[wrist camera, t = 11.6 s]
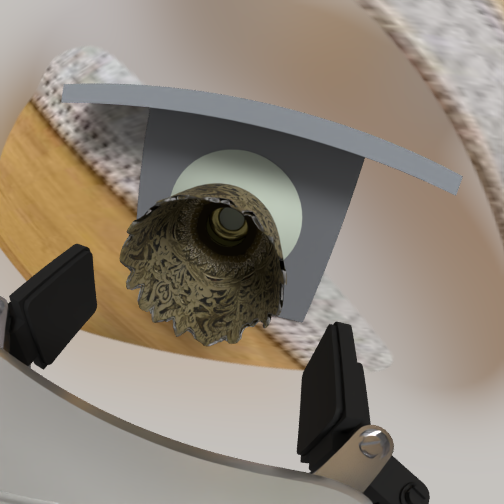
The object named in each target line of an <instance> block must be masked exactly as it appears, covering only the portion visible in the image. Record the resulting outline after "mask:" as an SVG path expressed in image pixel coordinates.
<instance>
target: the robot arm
mask: <svg viewBox="0 0 504 504" xmlns="http://www.w3.org/2000/svg"><path fill="white" fill-rule="evenodd" d="M9 297H10V301H11V302H9V303H7V301H6V299H4V298H3V297H1V296H0V504H429V499H430V496H429V491H428V489H427V487H426V486H425V484H424V483H422V482H421V481H420V480H419V479H418V478H417V477H416V476H414V475H413V474H412V473H411V472H410V471H409V470H408V469H407V468H405V467H404V466H403V465H402V464H401V463H400V462H399V461H398V460H396V459H395V458H394V457H393V456H392V453H393V449H394V444H393V440H392V438H391V436H390V435H389V433H388V432H387V431H386V430H384V429H383V428H381V427H379V426H376V425H371V424H370V415H369V407H368V399H367V392H366V384H365V377H364V371H363V366H362V364H361V363H357V357H356V351H355V344H354V338H353V332H352V327H351V325H349V324H345V323H341V322H335V323H334V324H333V325H332V324H329V325H328V327H327V329H326V331H325V333H324V335H323V337H322V339H321V340H320V342H319V344H318V346H317V348H316V350H315V352H314V354H313V355H312V357H311V359H310V361H309V363H308V364H307V366H306V368H305V370H304V372H303V375H302V385H301V403H300V418H299V431H298V443H297V454H298V455H301V462H302V463H309V470H310V471H311V472H310V473H306V472H300V471H295V470H290V469H285V468H280V467H274V466H269V465H264V464H259V463H254V462H250V461H246V460H241V459H237V458H233V457H229V456H225V455H221V454H217V453H214V452H210V451H207V450H203V449H200V448H197V447H193V446H190V445H187V444H184V443H181V442H178V441H175V440H172V439H170V438H167V437H164V436H161V435H159V434H156V433H153V432H151V431H148V430H146V429H143V428H141V427H138V426H136V425H134V424H131V423H129V422H126V421H124V420H122V419H120V418H118V417H116V416H114V415H111V414H109V413H107V412H105V411H103V410H101V409H99V408H97V407H95V406H93V405H91V404H89V403H87V402H86V401H83V400H82V399H80V398H78V397H76V396H75V395H73V394H71V393H69V392H67V391H66V390H64V389H62V388H61V387H59V386H57V385H56V384H54V383H52V382H51V381H49V380H47V379H46V378H44V377H43V376H41V375H40V374H38V373H36V372H35V371H33V370H32V369H31V363H32V362H34V363H35V364H36V365H37V366H39V367H40V368H42V369H45V367H46V366H47V365H50V364H52V363H53V361H54V360H55V359H56V358H57V356H58V355H59V354H60V353H61V351H62V350H63V349H64V348H65V347H66V345H67V344H68V343H69V342H70V340H71V339H72V338H73V337H74V336H75V334H76V333H77V332H78V331H79V330H80V329H81V328H82V326H83V325H84V324H85V323H86V322H87V321H88V319H89V318H90V317H91V316H92V315H93V314H94V313H95V311H96V308H97V300H96V291H95V281H94V270H93V256H92V253H91V252H90V249H89V248H88V247H85V246H82V245H80V244H75V245H73V246H72V247H70V248H69V249H68V250H66V251H65V252H64V253H62V254H61V255H60V256H58V257H57V258H56V259H54V260H53V261H52V262H50V263H49V264H48V265H47V266H45V267H44V268H43V269H41V270H40V271H39V272H38V273H36V274H35V275H34V276H33V277H31V278H30V279H29V280H28V281H27V282H25V283H24V284H23V285H22V286H21V287H19V288H18V289H17V290H16V291H15V292H14V293H12V294H11V295H10V296H9Z"/></svg>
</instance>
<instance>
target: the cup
mask: <svg viewBox="0 0 504 504" xmlns="http://www.w3.org/2000/svg"><path fill="white" fill-rule="evenodd" d="M224 208H232V209H235V210H237V211H238V212H240V213H241V214H242V215H243V217H244V223H243V225H242V226H241V227H240V228H239V229H236V230H229V229H227V228H225V227H224V226H223V225H222V224H221V222H220V213H221V211H222V210H223V209H224ZM127 233H128V234H130V235H129V237H128V238H127V240H126V241H125V243H124V245H123V247H122V250H121V254H120V262H121V263H122V264H123V265H124V266H125V267H127V268H129V270H130V271H131V273H130V275H129V276H128V279H127V281H126V287H127V289H131V290H133V289H136V288H141V289H140V292H139V296H138V304H139V307H140V309H142V310H144V311H146V312H148V311H149V312H150V313H151V314H152V322H154V323H156V322H163V321H166V322H168V321H170V320H171V319H173V328H174V332H175V335H176V337H178V336H180V335H182V334H183V333H185V332H186V331H189V332H191V333H192V335H193V336H194V338H195V339H196V340H198V341H199V342H201V343H202V344H203V345H204V346H211V345H214V344H216V343H218V342H222V341H224V340H226V341H227V342H228V343H230V344H236V343H237V342H238V341H239V340H240V339H241V337H242V333H243V331H244V329H245V328H246V327H248V326H250V327H254V326H255V325H256V324H257V323H258V322H259V321H261V322H263V327H264V328H266V327H267V326H268V325H269V323H270V320H271V316H279V315H280V313H281V310H282V307H283V298H284V285H287V273H286V269H285V266H284V260H283V254H282V248H281V243H280V237H279V233H278V230H277V227H276V224H275V222H274V220H273V217H272V215H271V214H270V212H269V210H268V209H267V208H266V207H265V205H264V204H263V203H262V202H261V201H260V200H259V199H258V198H257V197H256V196H254V195H253V194H251V193H250V192H248V191H246V190H244V189H242V188H240V187H237V186H234V185H230V184H223V183H212V184H204V185H200V186H196V187H193V188H190V189H187V190H185V191H182V192H180V193H177V194H175V195H173V196H170V197H168V198H165V199H162V200H159V201H157V202H156V205H154V206H152V207H151V208H149V210H148V211H147V212H146V213H145V214H144V215H143V216H142V217H140V218H139V219H137V220H135V221H133V223H132V224H131V225H130V227H129V228H128V230H127ZM139 285H141V286H139Z"/></svg>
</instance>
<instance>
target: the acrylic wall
mask: <svg viewBox="0 0 504 504" xmlns="http://www.w3.org/2000/svg"><path fill="white" fill-rule="evenodd" d="M62 102H66V103H102V104H118V105H131V106H142V107H151V108H160V109H168V110H175V111H182V112H189V113H195V114H201V115H207V116H213V117H218V118H223V119H229V120H233V121H238V122H243V123H248V124H252V125H257V126H261V127H265V128H269V129H273V130H277V131H281V132H285V133H289V134H292V135H296V136H300V137H303V138H307V139H310V140H314V141H317V142H320V143H324V144H327V145H330V146H333V147H336V148H339V149H342V150H345V151H348V152H351V153H354V154H357V155H360V156H363V157H366V158H369V159H371V160H374V161H377V162H379V163H382V164H384V165H387V166H390V167H392V168H395V169H398V170H400V171H403V172H405V173H407V174H409V175H412V176H414V177H416V178H419V179H421V180H423V181H426V182H428V183H430V184H432V185H435V186H437V187H439V188H441V189H443V190H445V191H447V192H449V193H452V194H454V195H456V194H457V191H458V188H459V186H460V182H461V180H462V176H461V175H459V174H457V173H455V172H453V171H452V170H450V169H447V168H446V167H444V166H442V165H439V164H437V163H436V162H433V161H431V160H429V159H427V158H425V157H423V156H421V155H419V154H416V153H414V152H412V151H410V150H407V149H405V148H403V147H400V146H398V145H395V144H393V143H391V142H388V141H386V140H383V139H380V138H378V137H375V136H373V135H370V134H367V133H365V132H362V131H359V130H356V129H354V128H351V127H348V126H345V125H342V124H339V123H336V122H333V121H329V120H326V119H323V118H319V117H316V116H313V115H309V114H306V113H302V112H299V111H295V110H291V109H287V108H283V107H279V106H275V105H271V104H267V103H262V102H258V101H253V100H248V99H243V98H237V97H233V96H227V95H222V94H216V93H209V92H202V91H196V90H188V89H179V88H170V87H160V86H148V85H131V84H64V88H63V94H62Z"/></svg>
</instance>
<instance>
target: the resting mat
mask: <svg viewBox="0 0 504 504" xmlns="http://www.w3.org/2000/svg"><path fill="white" fill-rule="evenodd" d="M364 159H365V157H363V156H360V155H357V154H354V153H351V152H348V151H345V150H342V149H339V148H336V147H333V146H330V145H327V144H324V143H320V142H317V141H314V140H310V139H307V138H303V137H300V136H296V135H292V134H289V133H285V132H281V131H277V130H273V129H269V128H265V127H261V126H257V125H252V124H248V123H243V122H238V121H233V120H229V119H223V118H218V117H213V116H207V115H201V114H195V113H189V112H182V111H175V110H168V109H160V108H151V107H150V111H149V117H148V123H147V129H146V136H145V143H144V150H143V158H142V166H141V175H140V185H139V197H138V209H137V219H139V218H140V217H142V216H143V215H144V214H145V213H146V212H147V211H148V210H149V208H151V207H152V206H154V205H156V202H157V201H159V200H162V199H165V198H168V197H170V196H173V195H175V194H177V193H180V192H182V191H185V190H187V189H190V188H193V187H196V186H200V185H204V184H212V183H223V184H230V185H234V186H237V187H240V188H242V189H244V190H246V191H248V192H250V193H251V194H253V195H254V196H256V197H257V198H258V199H259V200H260V201H261V202H262V203H263V204H264V205H265V207H266V208H267V209H268V210H269V212H270V214H271V215H272V217H273V220H274V222H275V224H276V227H277V230H278V233H279V237H280V243H281V248H282V254H283V260H284V266H285V269H286V273H287V285H284V298H283V307H282V310H281V313H280V315H279V316H278V317H282V318H286V319H290V320H294V321H298V322H303V320H304V318H305V316H306V314H307V311H308V309H309V307H310V304H311V302H312V300H313V297H314V295H315V293H316V290H317V288H318V285H319V283H320V280H321V278H322V276H323V273H324V271H325V268H326V266H327V263H328V260H329V258H330V255H331V253H332V250H333V248H334V245H335V242H336V240H337V237H338V234H339V232H340V229H341V226H342V223H343V221H344V218H345V215H346V212H347V210H348V207H349V204H350V201H351V198H352V195H353V191H354V189H355V186H356V183H357V180H358V177H359V174H360V171H361V168H362V165H363V162H364ZM220 222H221V224H222V225H223V226H224V227H225V228H227V229H229V230H236V229H239V228H240V227H241V226H242V225H243V223H244V217H243V215H242V214H241V213H240V212H238V211H237V210H235V209H232V208H224V209H223V210H222V211H221V213H220Z"/></svg>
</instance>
